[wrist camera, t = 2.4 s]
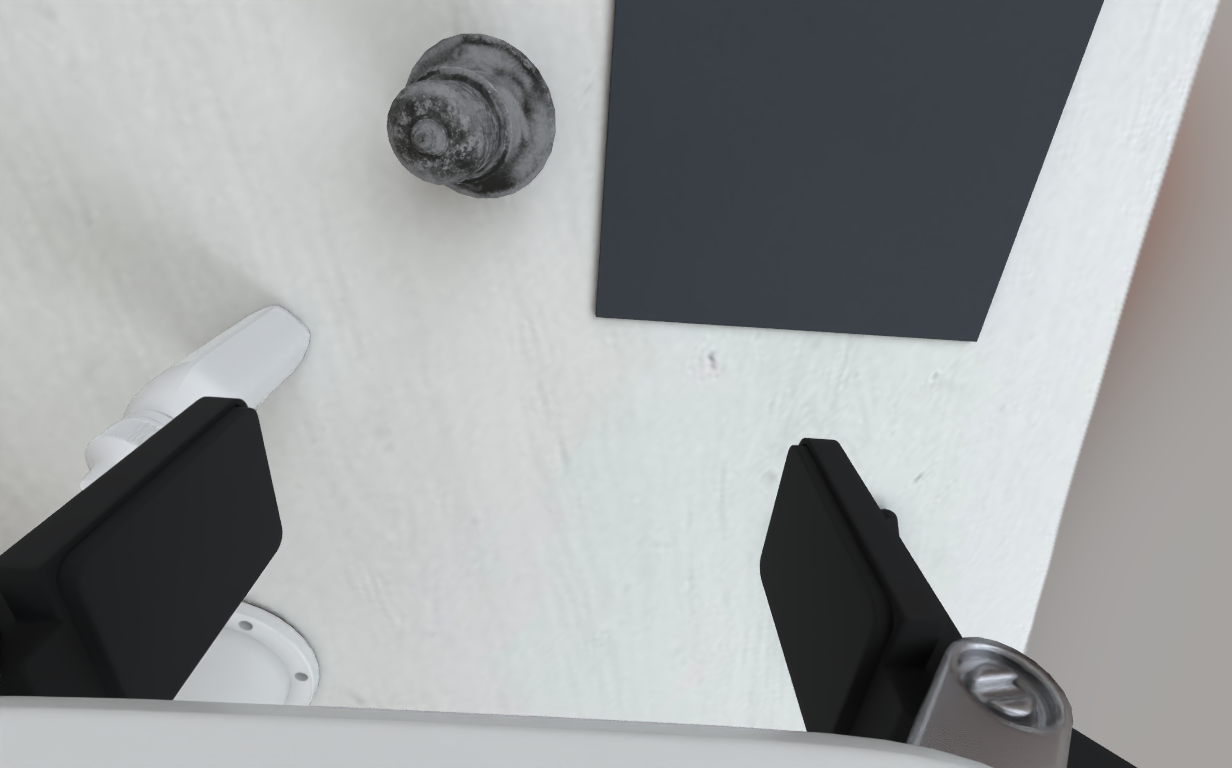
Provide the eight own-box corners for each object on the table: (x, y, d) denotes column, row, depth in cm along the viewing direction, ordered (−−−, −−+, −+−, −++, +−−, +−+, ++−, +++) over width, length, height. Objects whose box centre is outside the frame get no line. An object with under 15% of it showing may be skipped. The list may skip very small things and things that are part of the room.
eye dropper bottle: (195, 321, 31) (-26, 451, 20) (297, 297, 30) (127, 417, 19) (238, 395, 33) (57, 550, 22) (334, 374, 32) (198, 521, 21)
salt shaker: (499, 6, 25) (418, -51, 14) (588, 129, 27) (577, 162, 16) (398, 101, 26) (255, 116, 15) (490, 211, 28) (421, 291, 18)
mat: (595, 315, 31) (595, 317, 31) (624, -134, 23) (624, -136, 22) (973, 339, 32) (976, 342, 31) (1130, -83, 24) (1136, -85, 23)
